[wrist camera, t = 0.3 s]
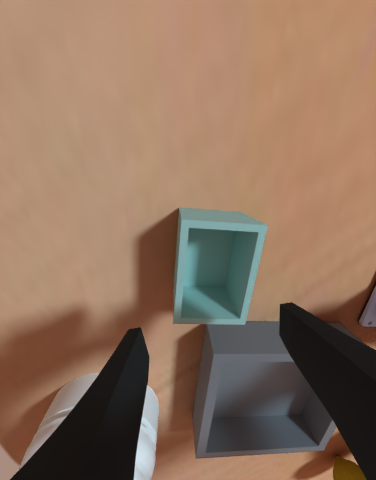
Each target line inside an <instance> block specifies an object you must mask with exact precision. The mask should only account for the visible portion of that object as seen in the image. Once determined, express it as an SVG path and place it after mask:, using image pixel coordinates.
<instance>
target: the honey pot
mask: <svg viewBox="0 0 376 480" xmlns="http://www.w3.org/2000/svg"><path fill="white" fill-rule="evenodd" d="M98 375H99V373H92V374H87V375H84V376H81V377H78V378H75V379H74V380H72V381H70V382H68V383H67V384H65V385H64V386H63V387H62V388H61V389H60V390H59V391H58V392H57V394H56V396H55V398H54V400H53V401H52V403H51V405H50V407H49V409H48V411H47V413H46V415H45V416H44V418H43V420H42V422H41V424H40V426H39V428H38V430H37V432H36V434H35V435H34V437H33V440H32V442H31V444H30V445H29V447H28V448H27V450H26V452H25V455H24V457H23V460H22V462H21V465H20V468H19V470H20V469H21V468H22V467H23V465H24V464H25V463H26V462H27V461H28V460H29V459H30V458H31V457H32V456H33V454H34V453H35V452H36V451H37V450H38V449H39V448H40V447H41V446H42V444H43V443H44V442H45V441H46V440H47V439H48V438H49V437H50V435H51V434H52V433H53V432H54V431H55V430H56V429H57V427H58V426H59V425H60V424H61V423H62V421H63V420H64V419H65V418H66V417H67V415H68V414H69V413H70V412H71V410H72V409H73V408H74V407H75V405H76V404H77V403H78V402H79V400H80V399H81V398H82V396H83V395H84V394H85V392H86V391H87V390H88V388H89V387H90V386H91V384H92V383H93V382H94V380H95V379H96V378H97V376H98ZM158 413H159V404H158V398H157V397H156V395H155V393H154V391H153V390H152V389H151V388H150V387H149V386H148V385H147V389H146V396H145V402H144V408H143V414H142V420H141V426H140V432H139V438H138V445H137V452H136V461H135V471H134V480H151V478H152V474H153V471H154V466H155V461H156V459H155V451H156V441H157V430H158Z"/></svg>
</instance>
